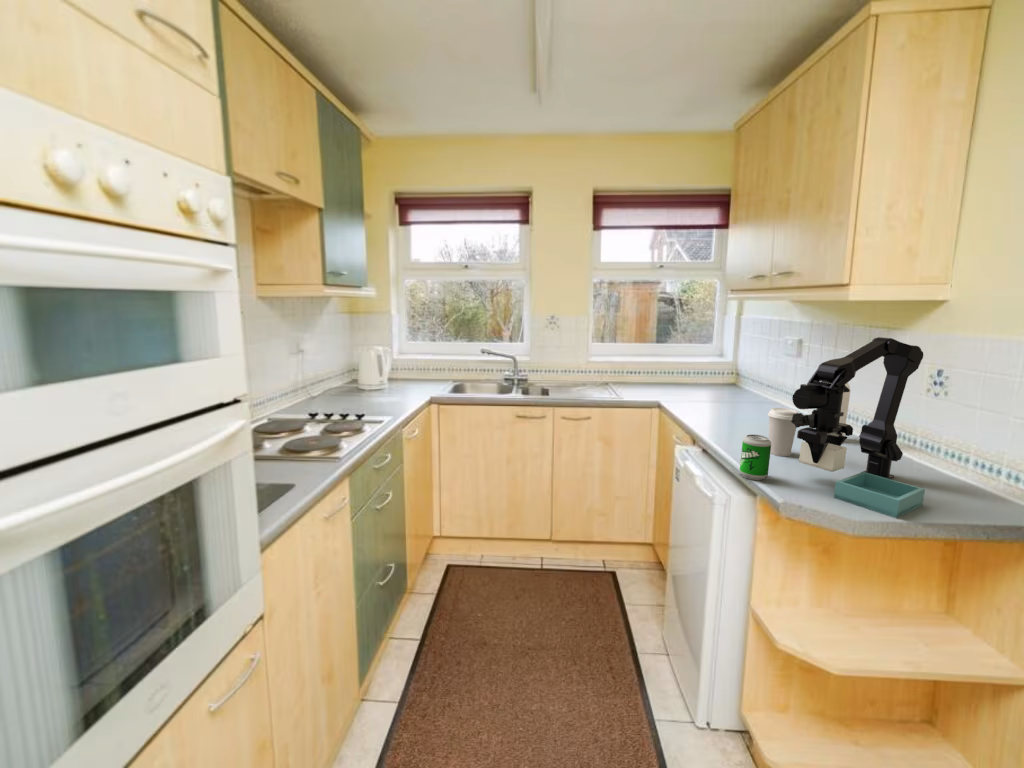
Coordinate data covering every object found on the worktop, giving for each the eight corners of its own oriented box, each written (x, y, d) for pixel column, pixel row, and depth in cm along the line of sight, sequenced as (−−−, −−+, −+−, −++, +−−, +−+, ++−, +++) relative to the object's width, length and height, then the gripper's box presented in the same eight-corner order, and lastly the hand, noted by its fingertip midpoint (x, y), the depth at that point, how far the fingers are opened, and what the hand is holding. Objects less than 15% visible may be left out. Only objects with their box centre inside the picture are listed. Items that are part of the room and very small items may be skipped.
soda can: (758, 472, 148) (763, 433, 146) (772, 481, 140) (777, 441, 138) (734, 471, 147) (738, 433, 145) (746, 481, 140) (751, 440, 138)
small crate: (810, 458, 145) (813, 439, 144) (843, 468, 138) (846, 447, 136) (798, 462, 142) (801, 442, 141) (832, 471, 134) (835, 450, 133)
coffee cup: (767, 456, 163) (772, 412, 160) (760, 448, 172) (765, 406, 169) (799, 459, 161) (805, 414, 158) (790, 450, 170) (795, 408, 167)
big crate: (861, 487, 137) (863, 471, 136) (922, 505, 125) (925, 488, 125) (833, 497, 129) (836, 481, 129) (896, 518, 118) (899, 500, 117)
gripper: (816, 399, 148) (810, 448, 151) (781, 405, 139) (775, 458, 141) (857, 406, 139) (849, 459, 142) (823, 413, 129) (815, 469, 132)
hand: (821, 461), depth 139 cm, fingers closed on small crate, 6 cm apart
